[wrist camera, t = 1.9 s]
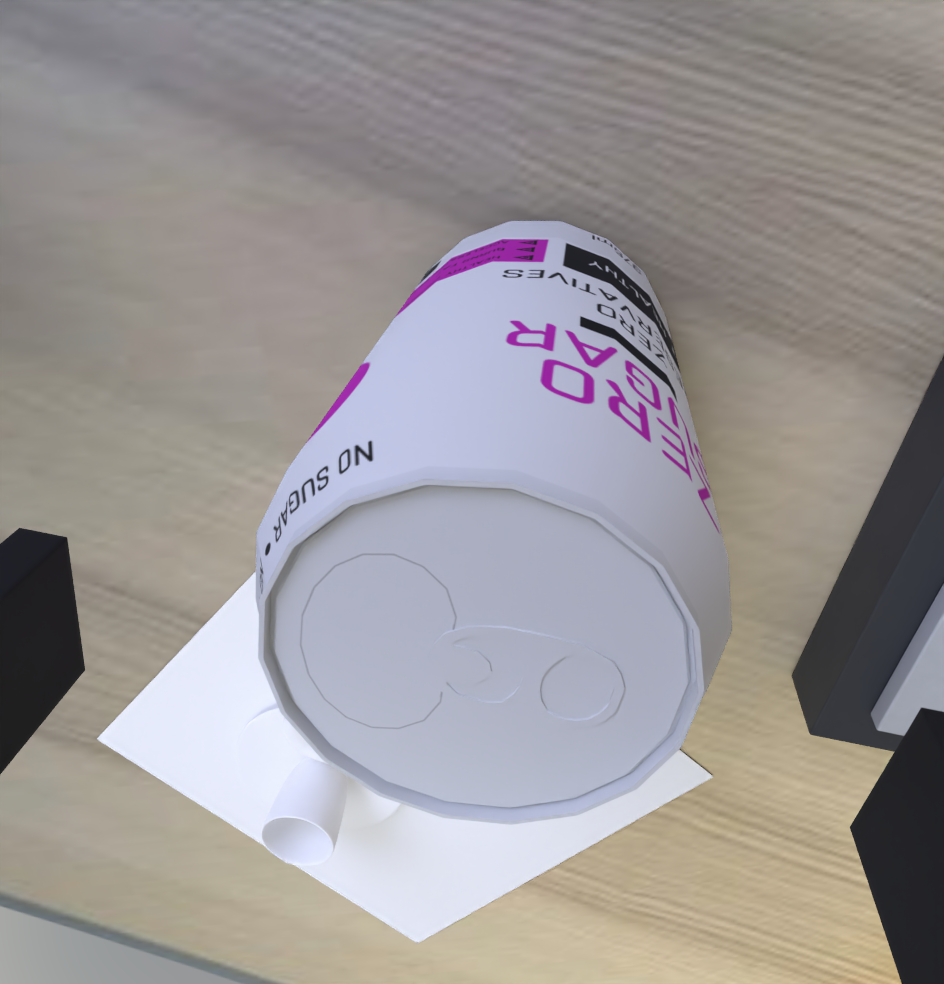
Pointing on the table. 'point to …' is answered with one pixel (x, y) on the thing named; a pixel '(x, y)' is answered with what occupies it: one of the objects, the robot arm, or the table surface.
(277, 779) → the teacup and saucer
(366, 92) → the table surface
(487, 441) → the white drink can
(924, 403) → the scale
